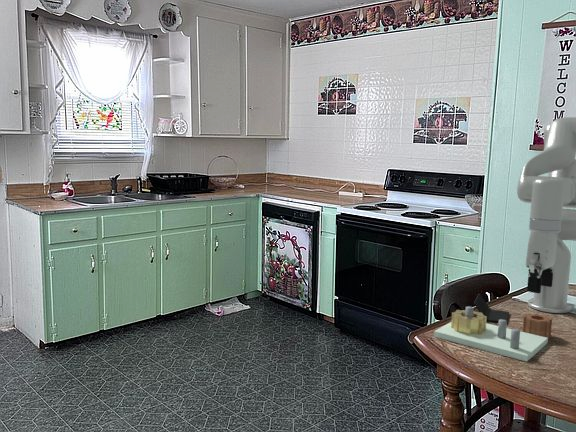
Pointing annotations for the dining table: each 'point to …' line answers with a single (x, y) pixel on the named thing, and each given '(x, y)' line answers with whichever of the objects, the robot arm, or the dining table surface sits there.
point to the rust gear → (537, 325)
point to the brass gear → (468, 322)
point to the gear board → (496, 339)
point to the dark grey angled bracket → (490, 311)
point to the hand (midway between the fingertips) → (539, 289)
